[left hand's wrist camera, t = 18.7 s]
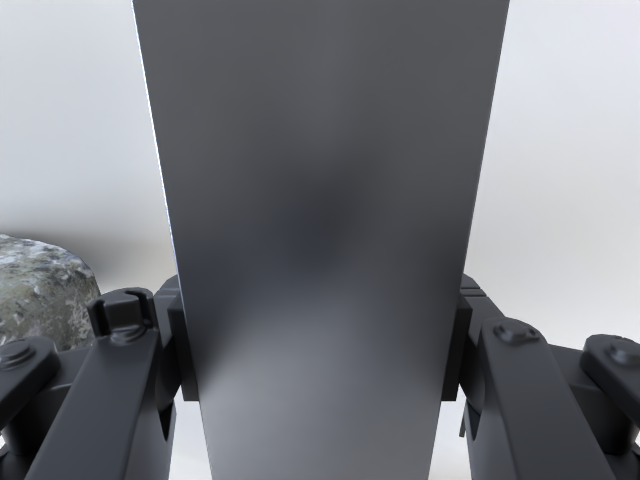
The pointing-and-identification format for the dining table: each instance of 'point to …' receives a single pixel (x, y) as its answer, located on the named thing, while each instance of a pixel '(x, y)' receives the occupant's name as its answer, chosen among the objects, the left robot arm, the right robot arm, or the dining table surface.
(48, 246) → the concrete block
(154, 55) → the bar
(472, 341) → the left robot arm
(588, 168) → the dining table surface
